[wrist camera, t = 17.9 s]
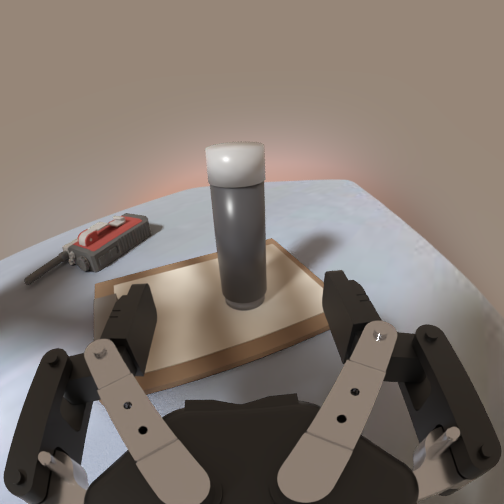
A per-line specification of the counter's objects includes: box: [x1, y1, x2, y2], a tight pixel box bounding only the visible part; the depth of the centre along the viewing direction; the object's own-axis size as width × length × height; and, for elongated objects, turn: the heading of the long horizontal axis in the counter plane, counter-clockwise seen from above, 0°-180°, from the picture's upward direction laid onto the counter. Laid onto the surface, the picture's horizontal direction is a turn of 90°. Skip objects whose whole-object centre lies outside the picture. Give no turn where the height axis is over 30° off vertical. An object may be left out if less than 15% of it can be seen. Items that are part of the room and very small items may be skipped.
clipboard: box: [94, 238, 330, 405], centre depth 27 cm, size 22×16×2 cm
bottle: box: [205, 142, 267, 311], centre depth 24 cm, size 4×4×14 cm
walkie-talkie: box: [24, 213, 151, 285], centre depth 36 cm, size 9×4×20 cm
